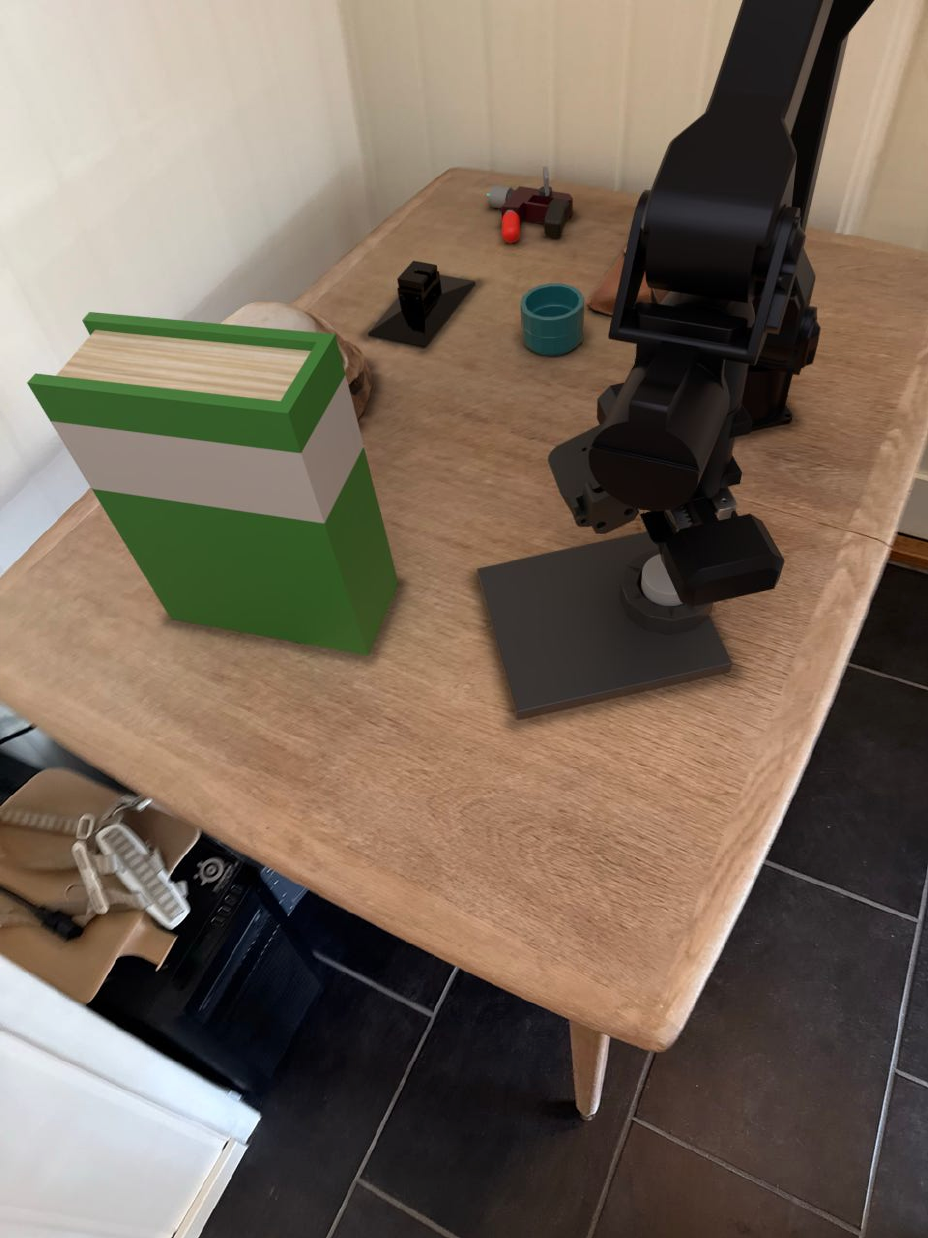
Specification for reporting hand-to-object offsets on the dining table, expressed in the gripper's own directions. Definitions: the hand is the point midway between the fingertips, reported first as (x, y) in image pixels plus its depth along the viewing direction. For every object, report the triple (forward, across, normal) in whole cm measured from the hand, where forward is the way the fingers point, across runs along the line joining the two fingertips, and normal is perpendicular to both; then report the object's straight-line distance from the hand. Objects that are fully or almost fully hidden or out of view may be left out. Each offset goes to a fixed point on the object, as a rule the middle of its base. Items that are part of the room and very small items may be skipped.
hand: (670, 564), depth 64 cm
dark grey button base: (+5, 0, -5) cm, 7 cm away
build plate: (+5, -46, -11) cm, 48 cm away
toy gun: (+5, -59, +3) cm, 59 cm away
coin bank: (+5, -32, -26) cm, 42 cm away
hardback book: (+5, -9, -29) cm, 31 cm away
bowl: (+5, -36, +1) cm, 36 cm away
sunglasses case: (+5, -44, +14) cm, 46 cm away
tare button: (+3, 0, 0) cm, 3 cm away
